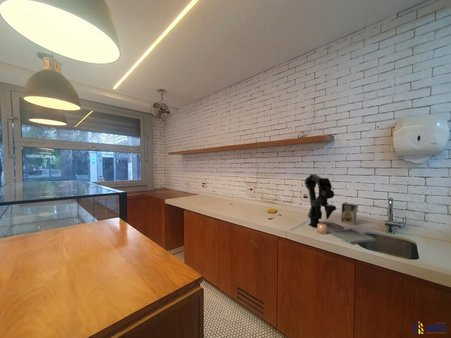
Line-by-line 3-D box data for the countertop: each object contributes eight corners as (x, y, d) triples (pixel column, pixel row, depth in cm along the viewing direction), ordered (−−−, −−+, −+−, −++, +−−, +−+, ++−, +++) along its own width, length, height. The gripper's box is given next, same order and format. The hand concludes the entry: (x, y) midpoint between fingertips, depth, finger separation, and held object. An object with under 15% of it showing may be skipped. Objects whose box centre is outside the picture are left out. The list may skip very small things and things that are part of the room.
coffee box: (341, 222, 155) (341, 203, 155) (344, 221, 159) (344, 202, 158) (353, 225, 148) (353, 205, 147) (356, 223, 151) (357, 204, 151)
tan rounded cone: (315, 231, 136) (315, 223, 136) (322, 231, 137) (322, 223, 137) (321, 234, 130) (321, 226, 130) (328, 234, 131) (328, 225, 131)
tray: (330, 233, 132) (330, 230, 132) (351, 231, 135) (351, 228, 135) (351, 244, 115) (351, 241, 114) (375, 241, 118) (375, 238, 118)
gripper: (305, 193, 140) (304, 213, 140) (322, 198, 121) (321, 221, 122) (317, 193, 142) (317, 212, 143) (336, 197, 123) (336, 220, 124)
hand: (322, 216), depth 133 cm, fingers open, 9 cm apart
